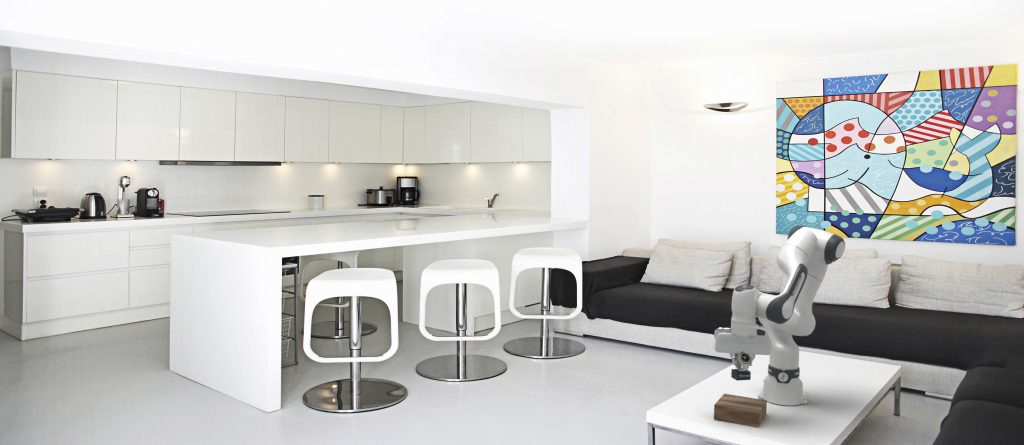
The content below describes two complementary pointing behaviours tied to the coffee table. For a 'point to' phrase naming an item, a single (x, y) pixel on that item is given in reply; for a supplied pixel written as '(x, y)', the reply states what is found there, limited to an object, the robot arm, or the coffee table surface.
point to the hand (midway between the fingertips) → (742, 365)
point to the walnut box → (740, 410)
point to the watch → (741, 372)
